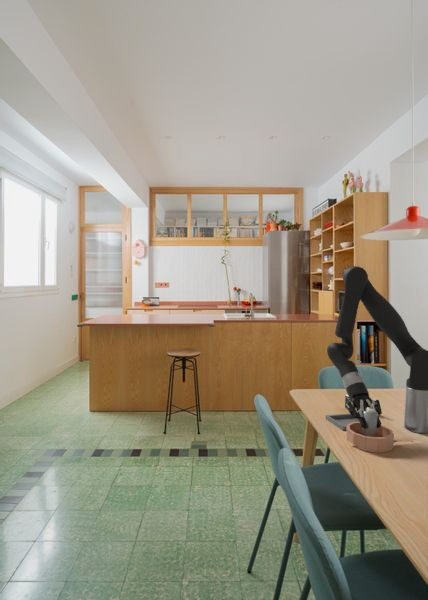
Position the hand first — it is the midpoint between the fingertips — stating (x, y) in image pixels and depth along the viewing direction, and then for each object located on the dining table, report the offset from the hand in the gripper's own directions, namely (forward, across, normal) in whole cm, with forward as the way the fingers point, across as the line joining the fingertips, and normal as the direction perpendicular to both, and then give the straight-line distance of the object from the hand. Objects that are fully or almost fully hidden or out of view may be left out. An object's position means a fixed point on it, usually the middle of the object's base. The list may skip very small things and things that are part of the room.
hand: (372, 427), depth 147 cm
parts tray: (-9, +2, +18) cm, 20 cm away
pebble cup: (+2, 0, +5) cm, 5 cm away
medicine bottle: (-19, +16, +29) cm, 38 cm away
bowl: (+3, 0, +6) cm, 7 cm away
